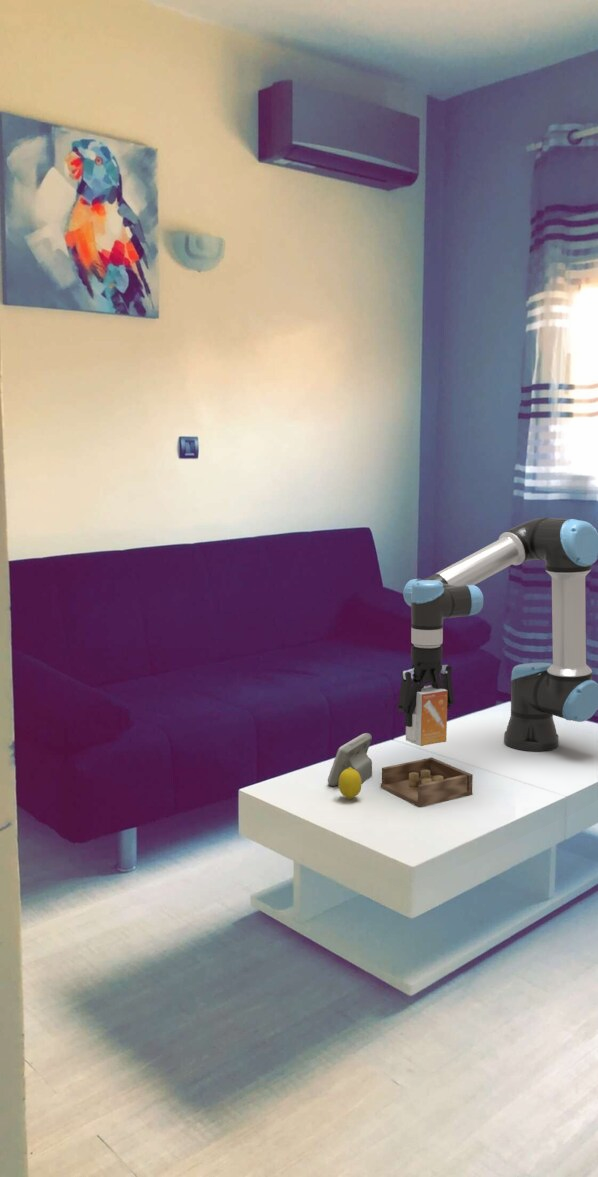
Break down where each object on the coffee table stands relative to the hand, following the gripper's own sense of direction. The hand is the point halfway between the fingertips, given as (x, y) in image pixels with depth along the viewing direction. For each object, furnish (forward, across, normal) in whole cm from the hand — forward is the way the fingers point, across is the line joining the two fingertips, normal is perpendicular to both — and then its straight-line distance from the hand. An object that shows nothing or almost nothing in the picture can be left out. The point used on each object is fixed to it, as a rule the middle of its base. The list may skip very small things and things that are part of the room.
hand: (425, 736), depth 236 cm
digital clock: (+14, +11, -18) cm, 25 cm away
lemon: (+14, +19, -5) cm, 24 cm away
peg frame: (+14, 0, 0) cm, 14 cm away
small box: (+1, 0, 0) cm, 1 cm away
